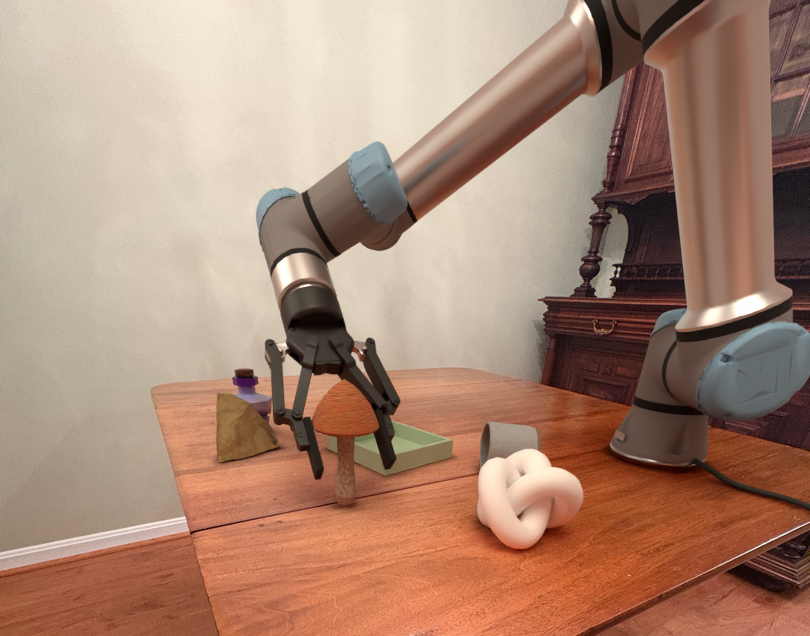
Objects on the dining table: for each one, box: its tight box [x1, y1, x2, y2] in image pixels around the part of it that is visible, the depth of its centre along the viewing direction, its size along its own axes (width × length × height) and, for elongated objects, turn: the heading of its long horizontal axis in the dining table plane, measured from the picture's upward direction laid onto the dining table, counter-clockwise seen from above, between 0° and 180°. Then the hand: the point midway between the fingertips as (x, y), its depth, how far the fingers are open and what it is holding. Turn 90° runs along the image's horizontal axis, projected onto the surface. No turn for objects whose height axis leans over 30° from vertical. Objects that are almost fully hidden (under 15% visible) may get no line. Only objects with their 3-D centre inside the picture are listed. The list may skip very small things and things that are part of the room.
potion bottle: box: [231, 368, 273, 424], centre depth 79 cm, size 9×9×12 cm
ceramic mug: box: [478, 420, 542, 469], centre depth 67 cm, size 11×8×8 cm
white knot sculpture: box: [476, 449, 584, 550], centre depth 48 cm, size 11×12×9 cm
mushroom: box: [311, 379, 379, 506], centre depth 51 cm, size 8×8×15 cm
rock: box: [215, 392, 281, 464], centre depth 71 cm, size 11×9×10 cm
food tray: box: [326, 419, 454, 477], centre depth 73 cm, size 17×15×3 cm
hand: (356, 469), depth 49 cm, fingers closed on mushroom, 8 cm apart
